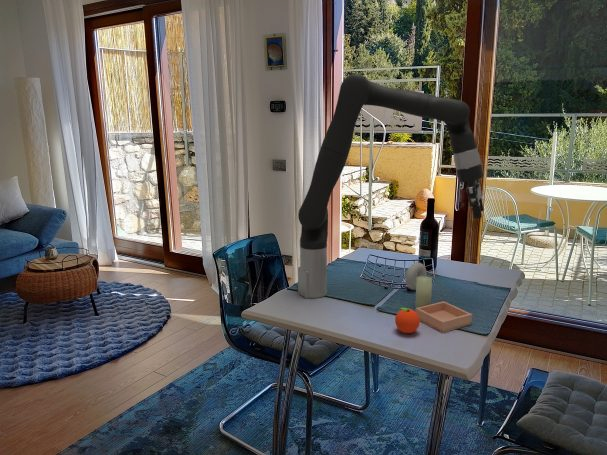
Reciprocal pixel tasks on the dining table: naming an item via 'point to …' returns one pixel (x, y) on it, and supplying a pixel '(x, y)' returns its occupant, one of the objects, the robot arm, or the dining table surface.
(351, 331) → the dining table surface
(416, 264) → the donut
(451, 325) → the dish
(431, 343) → the dining table surface
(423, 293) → the pale green cylinder
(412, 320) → the clementine
